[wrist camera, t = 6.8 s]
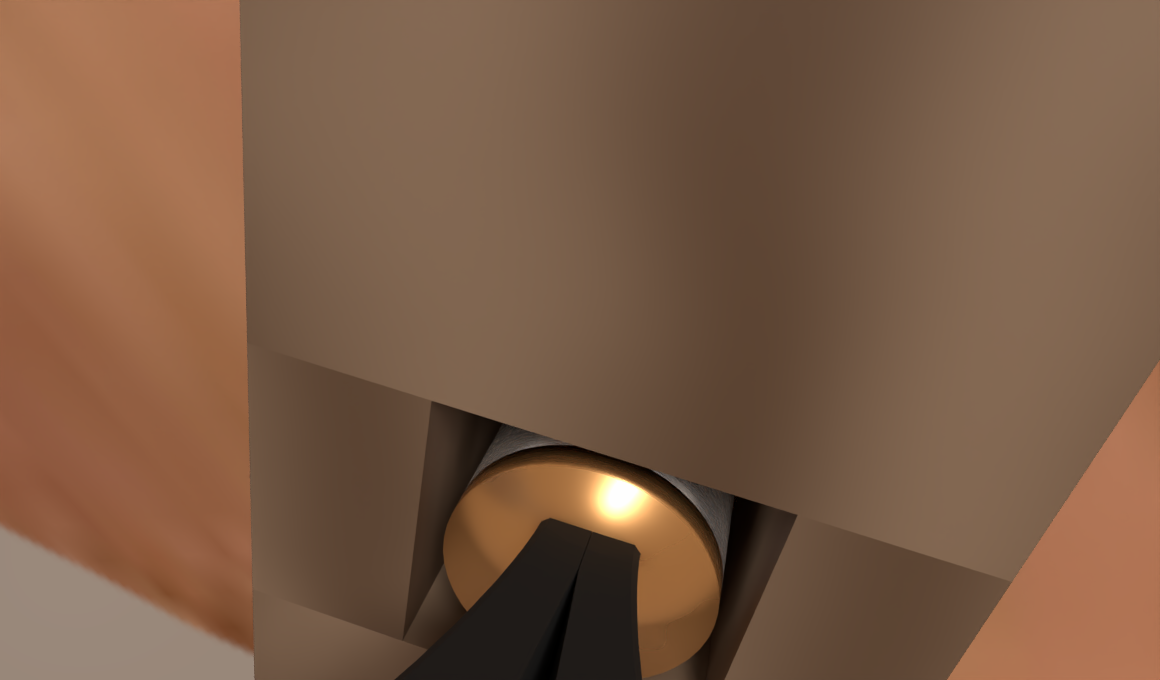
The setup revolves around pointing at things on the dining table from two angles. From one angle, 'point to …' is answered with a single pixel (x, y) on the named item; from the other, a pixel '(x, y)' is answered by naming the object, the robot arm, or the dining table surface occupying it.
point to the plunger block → (692, 297)
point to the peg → (606, 506)
